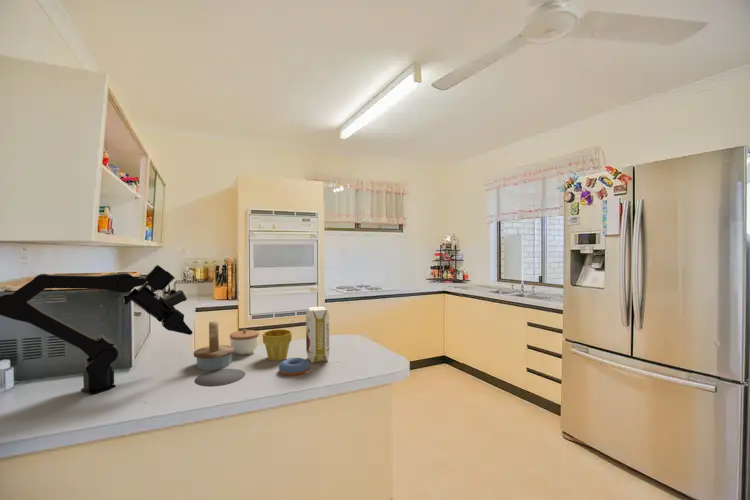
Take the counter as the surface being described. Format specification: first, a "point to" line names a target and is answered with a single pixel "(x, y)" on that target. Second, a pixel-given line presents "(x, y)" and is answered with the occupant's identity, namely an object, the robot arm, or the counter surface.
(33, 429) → the counter surface
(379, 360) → the counter surface
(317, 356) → the juice carton
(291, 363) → the doughnut
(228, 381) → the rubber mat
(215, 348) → the walnut lid
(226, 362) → the ceramic bowl
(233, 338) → the lidded jar
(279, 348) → the plant pot
